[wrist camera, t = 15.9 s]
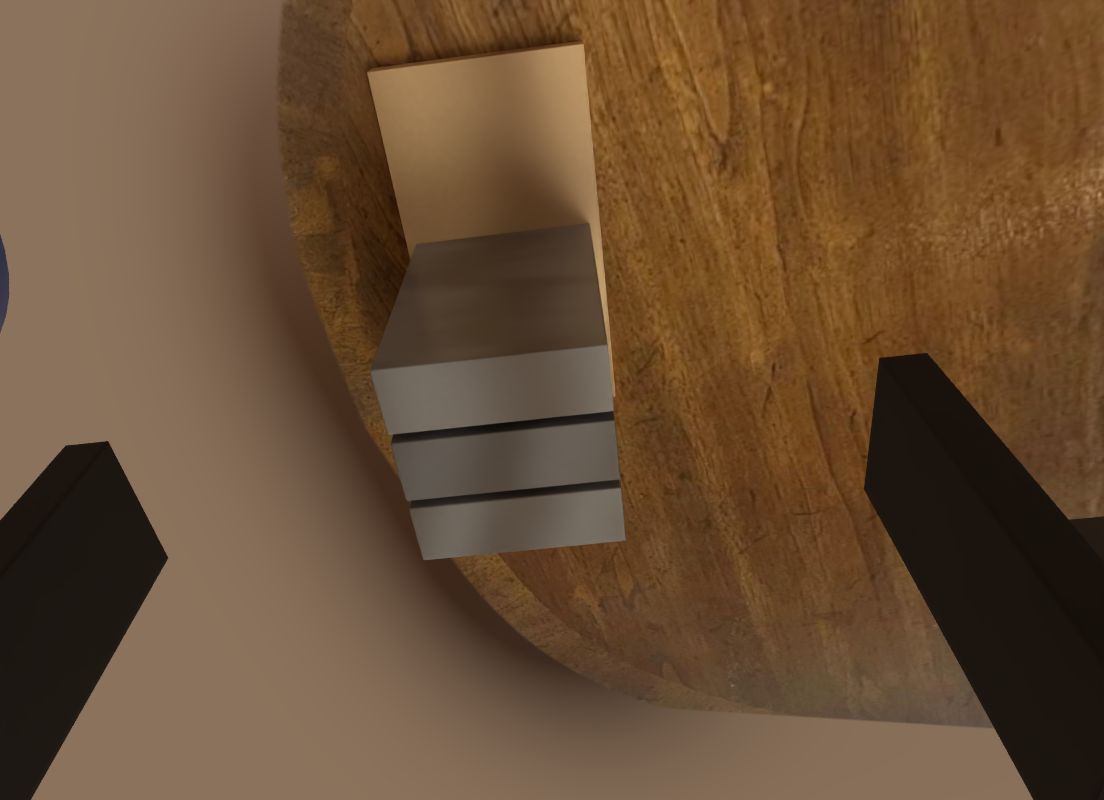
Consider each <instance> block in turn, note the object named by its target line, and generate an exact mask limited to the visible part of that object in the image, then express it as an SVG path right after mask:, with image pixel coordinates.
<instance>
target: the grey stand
mask: <svg viewBox="0 0 1104 800" xmlns="http://www.w3.org/2000/svg"><path fill="white" fill-rule="evenodd" d="M367 75H368V79H369V83H370V88H371V92H372V96H373V101H374V105H375V109H376V114H377V118H378V122H379V127H380V131H381V135H382V140H383V144H384V148H385V153H386V157H387V161H388V166H389V170H390V174H391V179H392V183H393V187H394V192H395V196H396V200H397V205H398V209H399V213H400V218H401V222H402V226H403V231H404V235H405V239H406V244H407V248H408V252H409V257H410V263H409V266H408V268H407V271H406V274H405V277H404V279H403V282H402V285H401V287H400V290H399V293H398V296H397V298H396V301H395V304H394V307H393V309H392V312H391V315H390V317H389V320H388V323H387V326H386V328H385V331H384V334H383V337H382V339H381V342H380V345H379V347H378V350H377V353H376V356H375V358H374V361H373V364H372V367H371V369H370V373H371V377H372V380H373V384H374V387H375V391H376V394H377V398H378V401H379V405H380V409H381V412H382V416H383V419H384V423H385V426H386V430H387V433H388V435H392V434H393V437H392V441H391V447H392V451H393V455H394V458H395V462H396V465H397V469H398V472H399V476H400V479H401V483H402V486H403V490H404V493H405V497H406V500H407V501H411V503H410V507H409V511H410V514H411V518H412V521H413V525H414V529H415V532H416V536H417V539H418V543H419V546H420V550H421V553H422V557H423V559H424V560H430V559H440V558H451V557H461V556H472V555H482V554H492V553H503V552H513V551H523V550H534V549H544V548H554V547H565V546H575V545H585V544H596V543H606V542H616V541H625V540H626V533H625V522H624V512H623V501H622V490H621V482H620V469H619V458H618V447H617V437H616V426H615V417H614V405H613V397H615V396H616V394H615V383H614V372H613V361H612V350H611V339H610V328H609V317H608V306H607V295H606V284H605V273H604V262H603V251H602V240H601V230H600V219H599V208H598V197H597V186H596V175H595V164H594V153H593V142H592V131H591V120H590V109H589V98H588V87H587V76H586V65H585V54H584V44H583V41H582V40H581V41H573V42H566V43H558V44H551V45H543V46H536V47H528V48H520V49H513V50H505V51H498V52H490V53H483V54H475V55H468V56H460V57H452V58H445V59H437V60H430V61H422V62H415V63H407V64H400V65H392V66H384V67H377V68H371V69H370V70H369V71H368V72H367Z"/></svg>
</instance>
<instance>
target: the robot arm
mask: <svg viewBox="0 0 1104 800" xmlns="http://www.w3.org/2000/svg"><path fill="white" fill-rule="evenodd" d="M864 490H865V492H866V494H867V495H868V497H869V499H870V501H871V503H872V505H873V506H874V508H875V510H876V512H877V514H878V516H879V517H880V519H881V521H882V523H883V525H884V527H885V528H886V530H887V532H888V534H889V536H890V538H891V539H892V541H893V543H894V545H895V547H896V549H897V550H898V552H899V554H900V556H901V558H902V560H903V561H904V563H905V565H906V567H907V569H908V571H909V572H910V574H911V576H912V578H913V580H914V582H915V583H916V585H917V587H918V589H919V591H920V593H921V594H922V596H923V598H924V600H925V602H926V604H927V605H928V607H929V609H930V611H931V613H932V615H933V616H934V618H935V620H936V622H937V624H938V626H939V627H940V629H941V631H942V633H943V635H944V637H945V638H946V640H947V642H948V644H949V646H950V648H951V649H952V651H953V653H954V655H955V657H956V659H957V660H958V662H959V664H960V666H961V668H962V670H963V671H964V673H965V675H966V677H967V679H968V681H969V682H970V684H971V686H972V688H973V690H974V692H975V693H976V695H977V697H978V699H979V701H980V703H981V704H982V706H983V708H984V710H985V712H986V714H987V715H988V717H989V719H990V721H991V723H992V725H993V726H994V728H995V730H996V732H997V734H998V735H999V737H1000V739H1001V741H1002V743H1003V745H1004V746H1005V748H1006V750H1007V752H1008V754H1009V756H1010V758H1011V759H1012V761H1013V763H1014V765H1015V767H1016V769H1017V770H1018V772H1019V774H1020V776H1021V778H1022V779H1023V781H1024V783H1025V785H1026V787H1027V789H1028V790H1029V792H1030V794H1031V796H1032V798H1033V800H1104V517H1094V518H1083V519H1073V520H1068V518H1067V517H1066V516H1065V515H1064V514H1063V513H1062V511H1061V510H1060V509H1059V508H1058V507H1057V506H1056V504H1055V503H1054V502H1053V501H1052V500H1051V498H1050V497H1049V496H1048V495H1047V494H1046V493H1045V491H1044V490H1043V489H1042V488H1041V487H1040V485H1039V484H1038V483H1037V482H1036V481H1035V480H1034V478H1033V477H1032V476H1031V475H1030V474H1029V473H1028V471H1027V470H1026V469H1025V468H1024V467H1023V465H1022V464H1021V463H1020V462H1019V461H1018V460H1017V458H1016V457H1015V456H1014V455H1013V454H1012V453H1011V451H1010V450H1009V449H1008V448H1007V447H1006V445H1005V444H1004V443H1003V442H1002V441H1001V440H1000V438H999V437H998V436H997V435H996V434H995V432H994V431H993V430H992V429H991V428H990V427H989V425H988V424H987V423H986V422H985V421H984V420H983V418H982V417H981V416H980V415H979V414H978V412H977V411H976V410H975V409H974V408H973V407H972V405H971V404H970V403H969V402H968V401H967V400H966V398H965V397H964V396H963V395H962V394H961V392H960V391H959V390H958V389H957V388H956V387H955V385H954V384H953V383H952V382H951V381H950V379H949V378H948V377H947V376H946V375H945V374H944V372H943V371H942V370H941V369H940V368H939V367H938V365H937V364H936V363H935V362H934V361H933V359H932V358H931V357H930V356H929V355H928V354H927V353H923V354H913V355H904V356H895V357H886V358H879V365H878V374H877V383H876V391H875V400H874V409H873V417H872V426H871V434H870V443H869V452H868V460H867V469H866V477H865V486H864ZM167 559H168V557H167V555H166V553H165V551H164V549H163V547H162V545H161V543H160V541H159V539H158V537H157V535H156V533H155V531H154V529H153V528H152V525H151V524H150V522H149V520H148V518H147V516H146V514H145V512H144V510H143V508H142V506H141V504H140V502H139V500H138V498H137V496H136V495H135V493H134V491H133V489H132V487H131V485H130V483H129V481H128V479H127V477H126V475H125V473H124V471H123V469H122V467H121V465H120V463H119V462H118V460H117V458H116V456H115V454H114V452H113V450H112V448H111V446H110V444H109V442H108V441H106V442H96V443H87V444H78V445H68V446H65V447H64V448H63V449H62V451H61V452H60V453H59V454H58V455H57V456H56V457H55V458H54V460H53V461H52V462H51V463H50V464H49V465H48V466H47V468H46V469H45V470H44V471H43V472H42V473H41V474H40V476H39V477H38V478H37V479H36V480H35V481H34V482H33V484H32V485H31V486H30V487H29V488H28V489H27V491H26V492H25V493H24V494H23V495H22V496H21V497H20V499H19V500H18V501H17V502H16V503H15V504H14V505H13V507H12V508H11V509H10V510H9V511H8V512H7V513H6V515H5V516H4V517H3V518H2V519H1V520H0V800H31V799H32V797H33V795H34V793H35V791H36V789H37V788H38V786H39V784H40V783H41V780H42V779H43V777H44V776H45V774H46V772H47V770H48V769H49V767H50V765H51V763H52V762H53V760H54V758H55V756H56V755H57V753H58V751H59V749H60V748H61V746H62V744H63V742H64V741H65V739H66V737H67V735H68V733H69V732H70V730H71V728H72V726H73V725H74V723H75V721H76V719H77V718H78V716H79V714H80V712H81V711H82V709H83V707H84V705H85V703H86V702H87V700H88V698H89V696H90V695H91V693H92V691H93V690H94V688H95V686H96V684H97V682H98V681H99V679H100V677H101V675H102V674H103V672H104V670H105V668H106V666H107V665H108V663H109V661H110V660H111V658H112V656H113V654H114V652H115V651H116V649H117V647H118V646H119V644H120V642H121V640H122V639H123V636H124V635H125V633H126V631H127V630H128V628H129V626H130V624H131V622H132V621H133V619H134V617H135V616H136V614H137V612H138V610H139V609H140V607H141V605H142V603H143V602H144V600H145V598H146V596H147V595H148V593H149V591H150V589H151V588H152V586H153V584H154V582H155V580H156V579H157V577H158V575H159V573H160V572H161V570H162V568H163V566H164V565H165V563H166V561H167Z"/></svg>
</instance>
